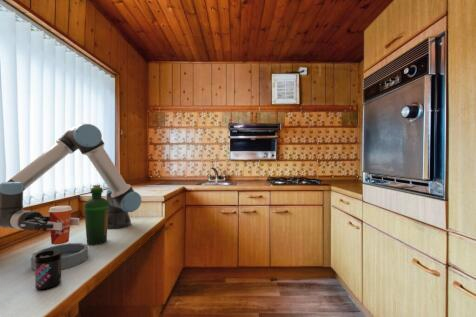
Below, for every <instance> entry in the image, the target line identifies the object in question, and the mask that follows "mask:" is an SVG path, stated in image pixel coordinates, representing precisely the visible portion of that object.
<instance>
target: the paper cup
mask: <svg viewBox="0 0 476 317" xmlns="http://www.w3.org/2000/svg"><path fill="white" fill-rule="evenodd" d="M72 210H73V208H72V206H71V205H56V206H51V207H50V208H49V210H48V212H49V216H50V222H59V223H62V230H51V229H49V230H50V240H51V241H50V242H51V245H53V246H55V245H61V244H68V243H69V240H70V231H71V230H70V229H71V225H70V219H71V216H72Z"/></svg>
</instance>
